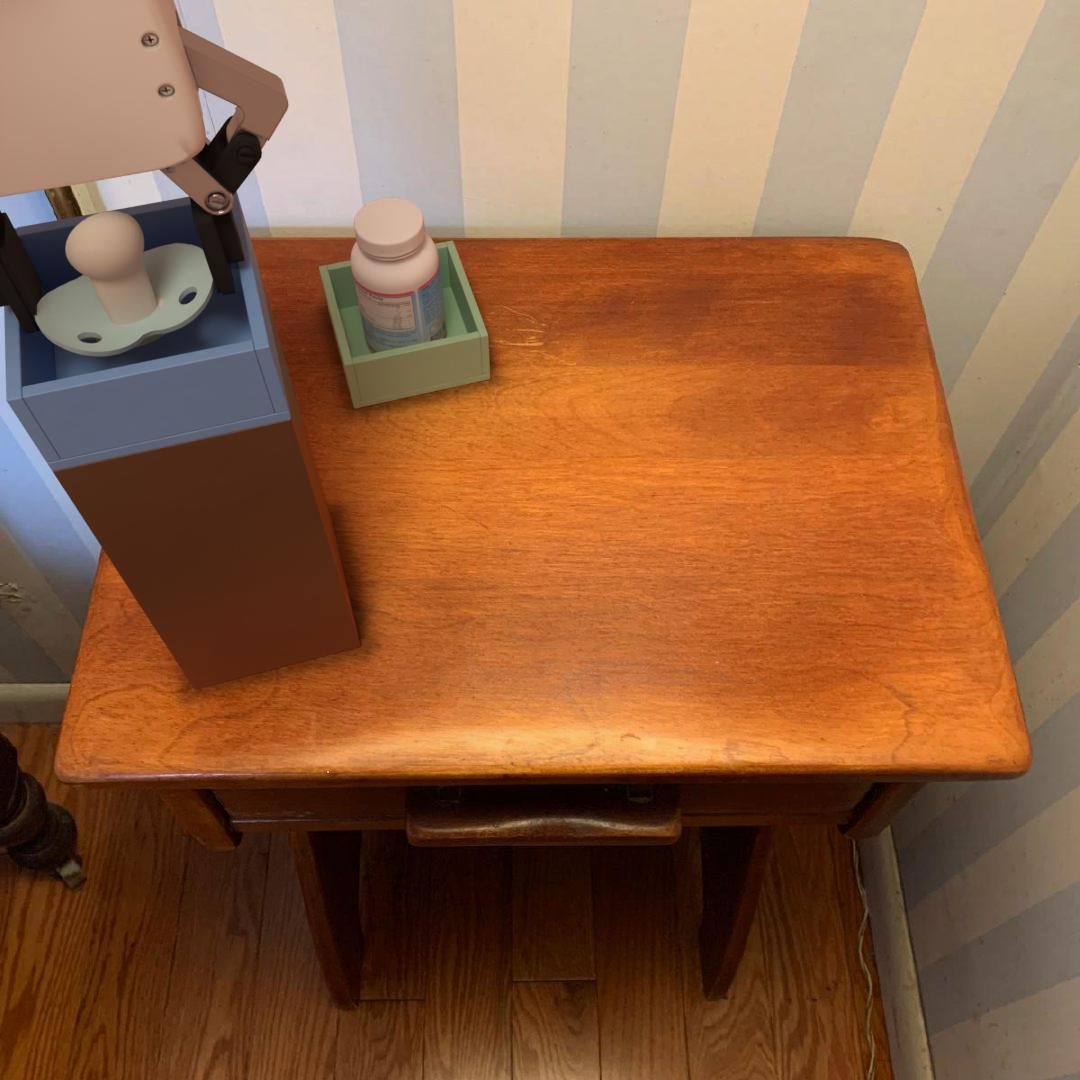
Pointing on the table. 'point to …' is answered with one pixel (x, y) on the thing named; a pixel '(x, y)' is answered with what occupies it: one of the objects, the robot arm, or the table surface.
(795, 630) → the table surface
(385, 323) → the pill bottle
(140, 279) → the pacifier
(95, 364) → the blue bin
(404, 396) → the green bin
